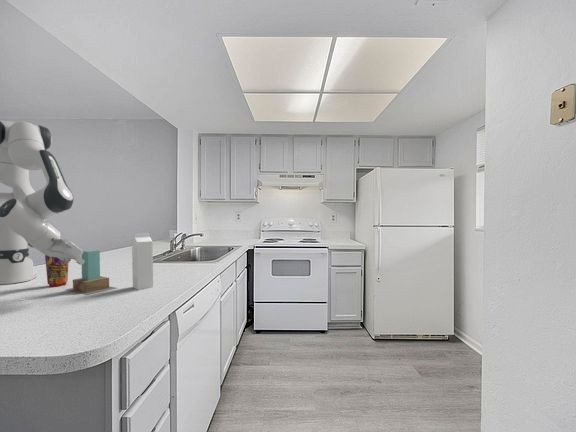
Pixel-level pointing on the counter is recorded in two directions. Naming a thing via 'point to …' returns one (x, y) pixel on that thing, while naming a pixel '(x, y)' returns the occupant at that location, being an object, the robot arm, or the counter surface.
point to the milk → (142, 261)
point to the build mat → (92, 291)
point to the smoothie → (56, 271)
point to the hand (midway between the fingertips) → (75, 262)
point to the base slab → (90, 284)
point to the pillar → (91, 264)
